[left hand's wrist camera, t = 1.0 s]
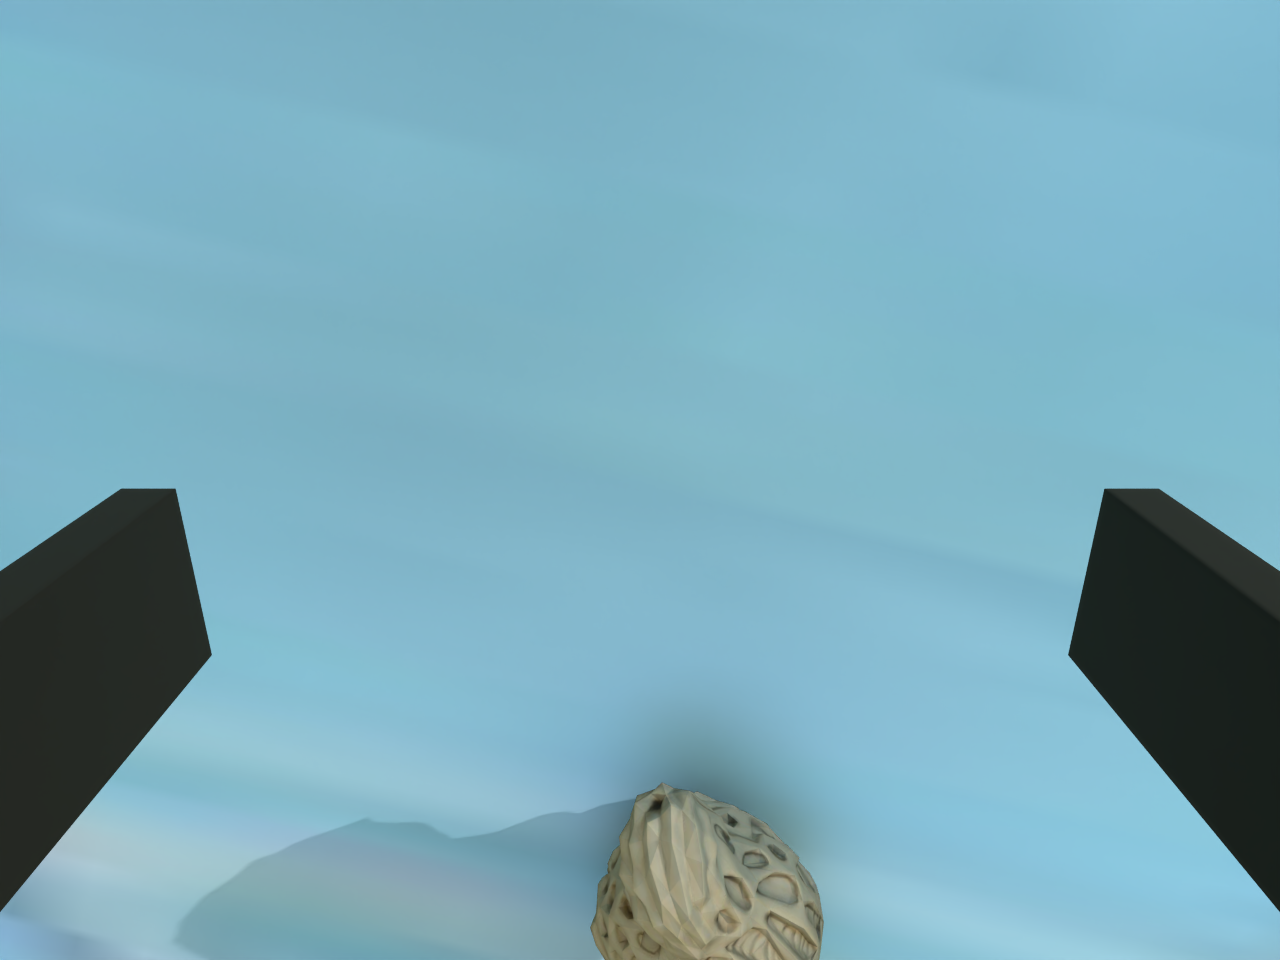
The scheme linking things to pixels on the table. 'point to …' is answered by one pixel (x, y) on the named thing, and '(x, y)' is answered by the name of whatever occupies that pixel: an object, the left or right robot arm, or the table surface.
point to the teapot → (704, 886)
